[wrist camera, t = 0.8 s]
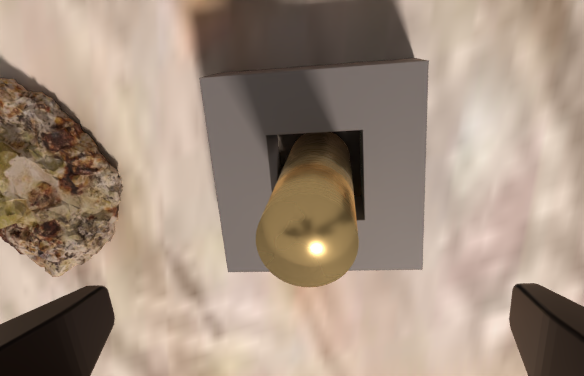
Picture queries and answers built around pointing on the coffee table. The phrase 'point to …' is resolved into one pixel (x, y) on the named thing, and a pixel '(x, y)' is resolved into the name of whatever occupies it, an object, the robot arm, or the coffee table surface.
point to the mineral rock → (52, 183)
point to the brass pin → (311, 214)
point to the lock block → (323, 118)
